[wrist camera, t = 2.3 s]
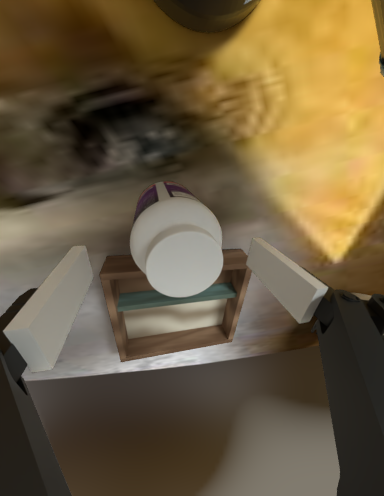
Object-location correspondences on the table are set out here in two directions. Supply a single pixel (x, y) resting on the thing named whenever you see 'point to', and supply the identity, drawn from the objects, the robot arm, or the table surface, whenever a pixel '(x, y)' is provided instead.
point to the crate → (172, 308)
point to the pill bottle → (176, 240)
